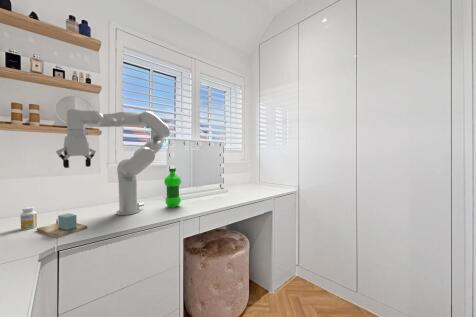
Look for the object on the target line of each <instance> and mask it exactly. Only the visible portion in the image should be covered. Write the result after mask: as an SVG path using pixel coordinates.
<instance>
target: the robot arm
mask: <svg viewBox="0 0 476 317" xmlns="http://www.w3.org/2000/svg"><path fill="white" fill-rule="evenodd" d="M86 125H88V126H89V127H91V128H94V127H95V128H99V127H100V128H108V127H109V128H112V127H114V128H118V127H119V128H121V127H123V128H125V127H137V128H138V127H139V128H142V127H148V128H149V129H150V139H149V141H148V142H146V143H145V144H143V145H142V146H141V147H139V148H138V149H136V150H135V152H134V153H133V156H131V157H130V158H129V159H126V158H125V159H122V160H120V161H119V163H118V164H117V168H116V169H117V170H116V171H117V172H116V173H117V177H118V180H117V181H118V210H117V211H116V215H118V216H127V215H128V216H129V215H135V214H136V213H140V211H141V207H144V206H145V203H144V202H142V203H138V192H137V190H138V186H137V185H138V184H137V183H138V181H137V175H139V174H140V173H141V172H143V170H145V169H146V168H147V167H149V166H150V165H151V164H152V163H153V162H154V160H155V158H156V154H157V153H158V152H159V151H160V150H161V149H162V147H163V144H164V139H165V138H167V137H168V136H170V133H171V130H170V127H169V125H167V124H166V123H165V122H164V121H162V119H161V118H160V117H158V116H157V115H156V114H154V113H153V112H152V111H150V110H145V111H143V112H135V111H132V112H131V111H119V112H114V113H101V112H100V111H97V110H82V109H74V108H73V109H72V108H71V109H67V110H66V130H67V131H66V133H67V134H66V135H65V136H64V140H63V141H64V142H63V148H60V149H57V150H55V153H56V154H57V156H58V157H59V158H60V159H61V160H62V163H63V164H62V166H63V167H64V168H65V169H68V168H70V161H69V158H70V157H77V156H78V157H79V156H80V157H81V156H82V157H85V158H86V159H85V167H91V165H92V161H91V160H92V159H93V157H94V156H95V154H96V152H97V151H96V150H94V149H92V148H91V147H90V144H89V140H88V135H89V132H87V131H86Z"/></svg>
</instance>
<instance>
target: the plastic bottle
mask: <svg viewBox="0 0 476 317" xmlns="http://www.w3.org/2000/svg"><path fill="white" fill-rule="evenodd" d="M176 171H177V168H175V167H172V168H171V167H170V168H168V172H169V173H168V174H167V175H166V177H165V178H164V181H163V182H164V185H165V186H166V197H165V200H164V201H165V204H166V206H167V207H169V208H176V207H178V206H179V205H180V203H181V202H182V200H181V196H180V185H181V183H182V179H181V177H180V176H178V174H176Z"/></svg>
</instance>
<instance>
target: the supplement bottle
mask: <svg viewBox="0 0 476 317" xmlns="http://www.w3.org/2000/svg"><path fill="white" fill-rule="evenodd" d="M37 215H38V214H37V211H35V206H27V207H23V208H22V213H20V229H21V230H22V231H25V230H26V231H27V230H32V229H34V228H38V221H37V220H38V219H37V218H38V216H37Z"/></svg>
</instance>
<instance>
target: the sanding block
mask: <svg viewBox="0 0 476 317" xmlns="http://www.w3.org/2000/svg"><path fill="white" fill-rule="evenodd" d="M57 220H58V222H57V223H58V226H59V229H61V230H64V231H69V230H72V229H76V228H77V223H78V222H77V220H78V219H77V214H73V213H65V214H59V215H58V217H57Z"/></svg>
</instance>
